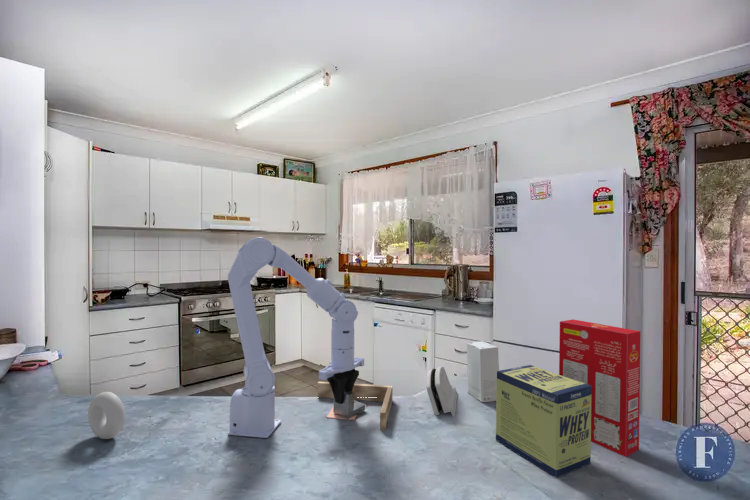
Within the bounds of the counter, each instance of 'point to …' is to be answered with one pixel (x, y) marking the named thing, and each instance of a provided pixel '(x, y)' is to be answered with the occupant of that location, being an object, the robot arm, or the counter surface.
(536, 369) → the protein box
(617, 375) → the food packaging
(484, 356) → the skincare box
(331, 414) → the flat panel
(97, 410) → the donut
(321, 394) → the wooden corner frame
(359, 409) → the bracket
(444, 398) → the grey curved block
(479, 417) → the counter surface
